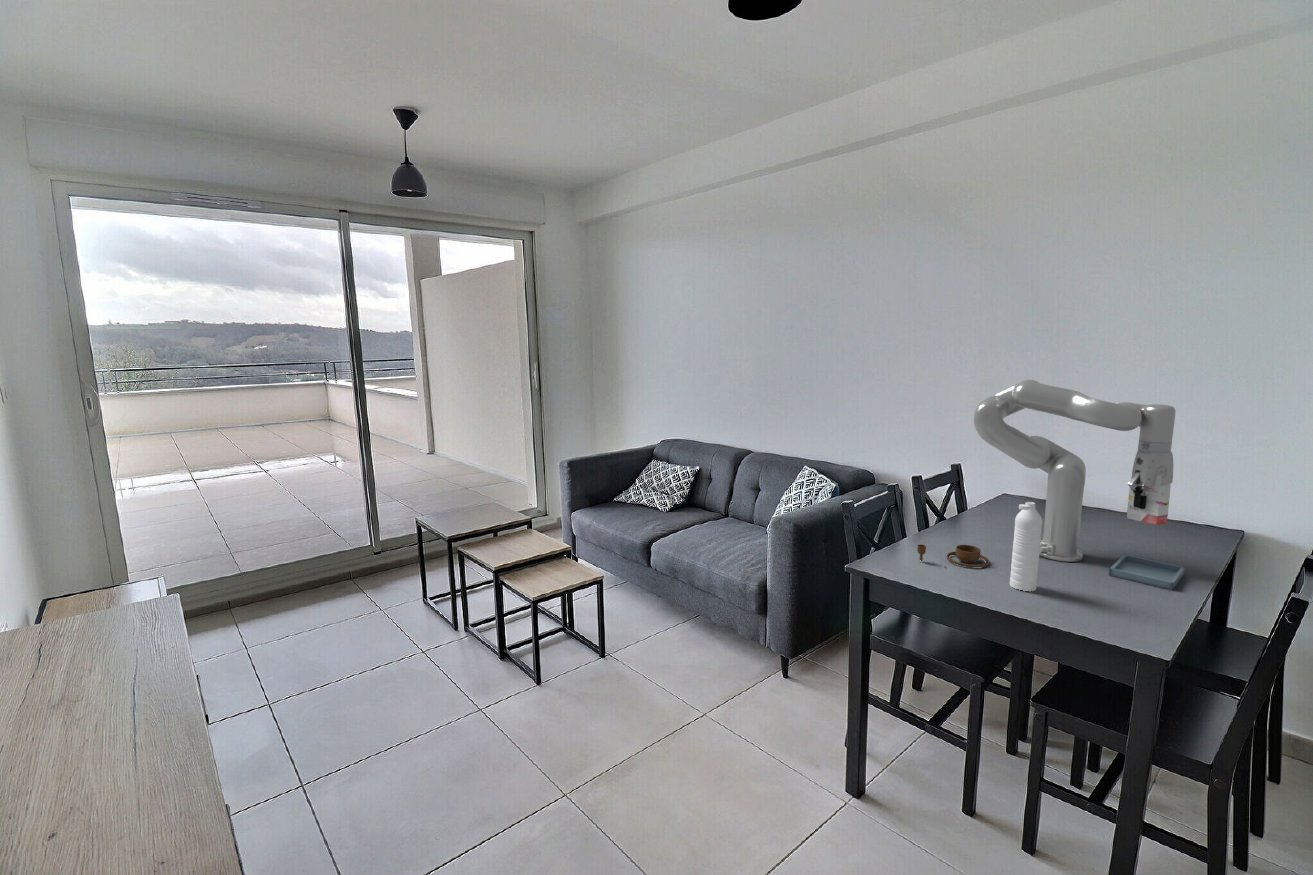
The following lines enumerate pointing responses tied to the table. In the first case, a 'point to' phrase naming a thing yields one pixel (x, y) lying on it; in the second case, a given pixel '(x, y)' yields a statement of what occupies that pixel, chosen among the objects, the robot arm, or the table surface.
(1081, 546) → the table surface
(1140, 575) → the tray
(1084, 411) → the robot arm
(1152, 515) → the ink cartridge box
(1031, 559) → the water bottle
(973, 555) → the place setting
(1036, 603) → the table surface
